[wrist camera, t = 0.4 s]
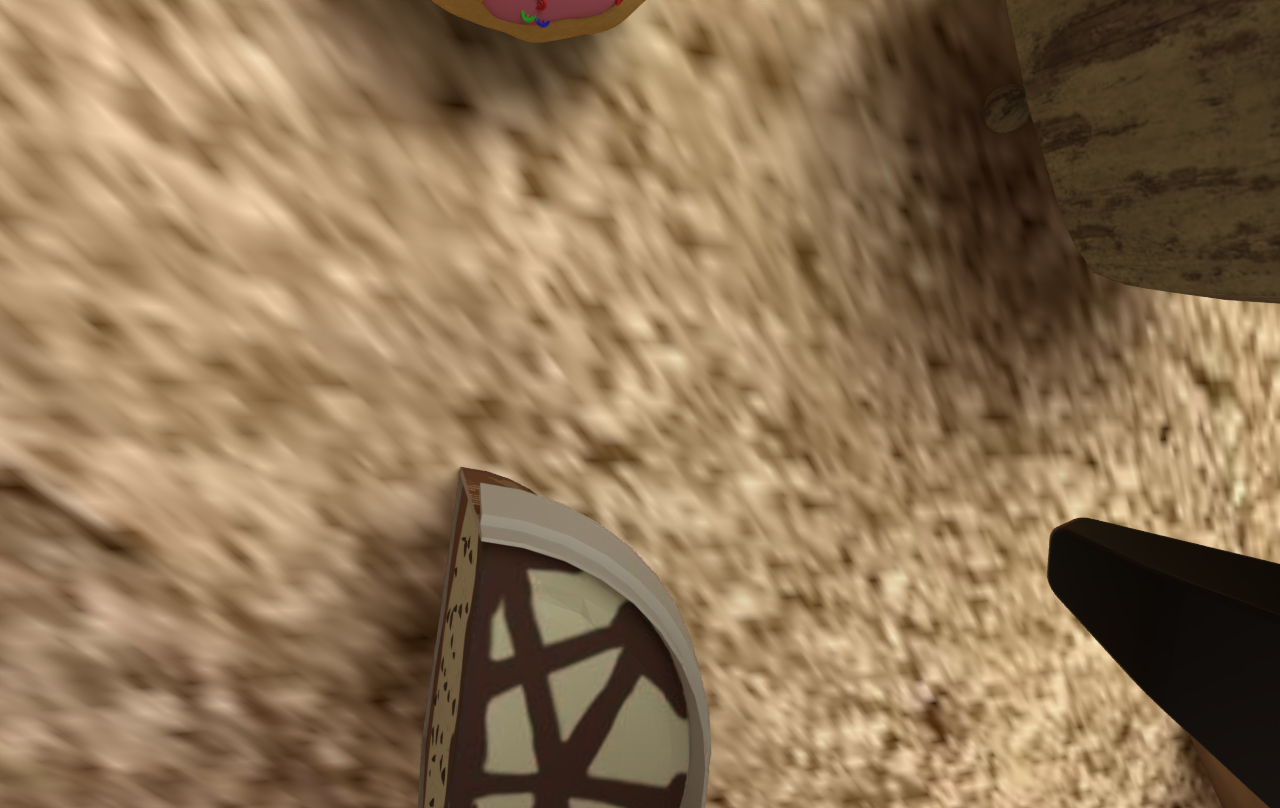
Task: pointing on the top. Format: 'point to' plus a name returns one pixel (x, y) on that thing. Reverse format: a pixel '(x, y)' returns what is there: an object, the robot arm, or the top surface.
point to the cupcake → (543, 16)
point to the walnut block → (1226, 783)
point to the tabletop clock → (1157, 136)
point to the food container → (557, 667)
